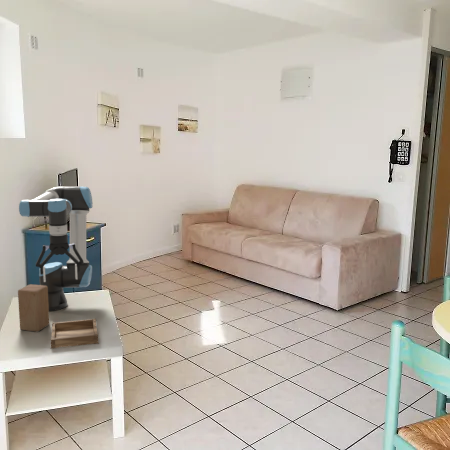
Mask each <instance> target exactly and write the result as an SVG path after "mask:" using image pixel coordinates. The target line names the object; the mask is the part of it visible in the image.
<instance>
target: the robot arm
mask: <svg viewBox="0 0 450 450" xmlns="http://www.w3.org/2000/svg"><path fill="white" fill-rule="evenodd" d="M92 208H93V196H92V192H91V189H90V188H89V187H88V186H82V185H81V186H77V185H76V186H75V185H74V186H71V185H70V186H67V185H66V186H63V185H60V186H54V187H52V188H48V189H47V190H44V191H43V192H42V193H40V195H39V196H37V197H34V198H33V199H22V200H20V202H19V204H18V212H19V214H20V216H21V217H28V218H29V217H31V218H33V217H37V218H38V217H42V218H43V217H46V218H47V217H48V231H49V245H46V244H43V245H42V250H41V252H40V254H39V256H38V258H37V261H36V262H35V267H37V268H39V269H38V270H39V271H38V272H39V274H38V277H39V279H38V280H39V285H44V286H47V287H48V305H49V312H52V311H58V310H62V309H65V308H66V307H67V306H68V300H67V297H66V295H65V292H64V289H65V288H87V287H89V285H90V284H91V281H92V275H93V266H92V265H91V264H90V261H89V260H88V259H87V215H88V214H89V213H90V209H92ZM68 215H69V237H68V221H67V220H68ZM68 238H69V239H68ZM48 249H49V250H50V252H49V253H48V255H47V256H46V257H45V258H44V255H45V253H46V251H48ZM68 249H69V250H68ZM54 255H55V256H59V255H67V257H68V258H69V259H68V260H67V261H66V265H63V263H62V262H59V261H55V262H49V260H51V258H52V257H53V256H54ZM43 258H44V259H43ZM48 262H49V263H48Z"/></svg>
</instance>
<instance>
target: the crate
mask: <svg viewBox="0 0 450 450" xmlns="http://www.w3.org/2000/svg"><path fill="white" fill-rule="evenodd" d="M95 344H100V343H99V333H98V329H97V318H91V319H90V318H89V319H79V320H69V321H58V322H56V321H55V322H51V337H50V349H57V348H58V349H59V348H66V347H75V346H77V347H78V346H85V345H95Z"/></svg>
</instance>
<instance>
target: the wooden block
mask: <svg viewBox="0 0 450 450" xmlns="http://www.w3.org/2000/svg"><path fill="white" fill-rule="evenodd" d="M17 295H18V296H17V299H18V315H19V318H18V319H19V328H20V330H21V331H28V332H40V331H42V330H43V329H45V328H46V327H48V326H49V325H50V311H49V305H48V287H47V286H44V285H40V284H32V283H30V284H27V285H26V286H24V287H21V288H20V289H18V290H17Z"/></svg>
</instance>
